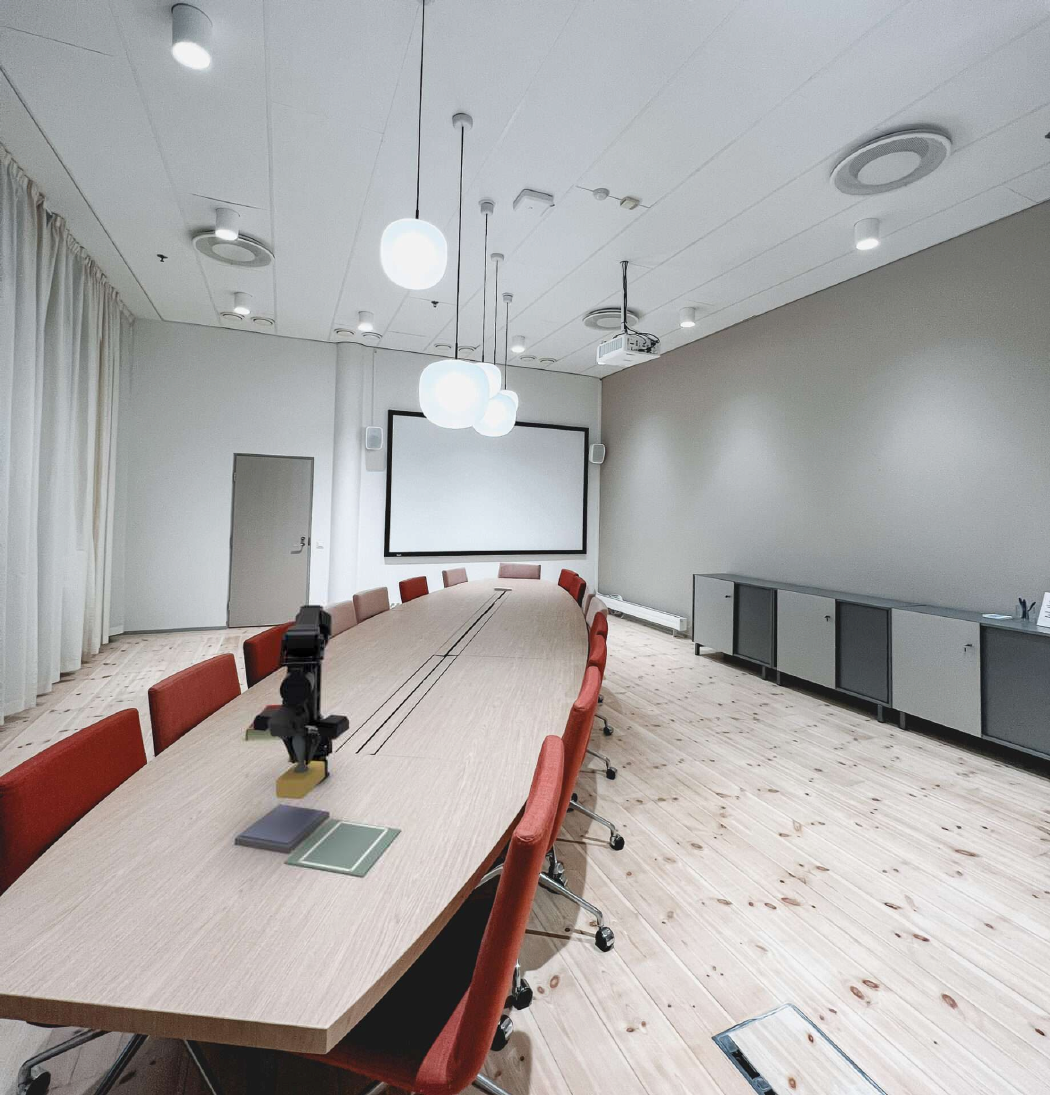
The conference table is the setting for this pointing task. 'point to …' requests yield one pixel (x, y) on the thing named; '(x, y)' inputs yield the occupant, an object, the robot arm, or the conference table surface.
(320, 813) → the ink pad
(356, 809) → the conference table surface
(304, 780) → the rubber stamp
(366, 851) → the marking board
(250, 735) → the hardcover book
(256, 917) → the conference table surface
